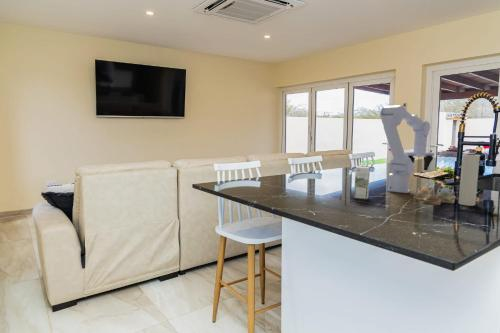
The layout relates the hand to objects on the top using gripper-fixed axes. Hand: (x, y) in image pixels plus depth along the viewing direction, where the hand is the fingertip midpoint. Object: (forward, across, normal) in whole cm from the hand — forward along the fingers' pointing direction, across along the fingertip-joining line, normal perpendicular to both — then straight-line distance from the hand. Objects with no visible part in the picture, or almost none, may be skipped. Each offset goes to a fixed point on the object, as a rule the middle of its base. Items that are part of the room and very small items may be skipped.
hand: (418, 170), depth 180 cm
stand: (+10, -11, -33) cm, 36 cm away
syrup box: (+10, -38, -23) cm, 46 cm away
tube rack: (+10, -4, -24) cm, 26 cm away
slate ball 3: (+7, 0, -24) cm, 25 cm away
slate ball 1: (+7, -6, -19) cm, 22 cm away
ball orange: (+7, -9, -24) cm, 26 cm away
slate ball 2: (+7, -3, -28) cm, 29 cm away
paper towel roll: (+10, +3, -36) cm, 37 cm away
